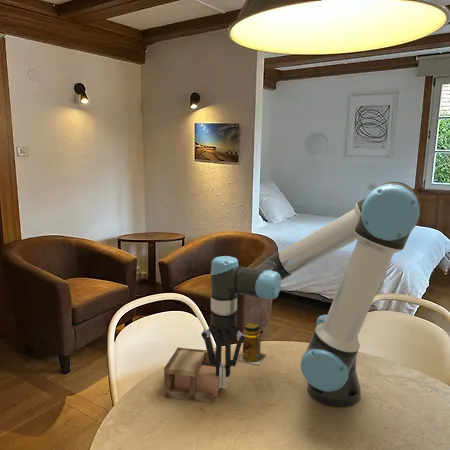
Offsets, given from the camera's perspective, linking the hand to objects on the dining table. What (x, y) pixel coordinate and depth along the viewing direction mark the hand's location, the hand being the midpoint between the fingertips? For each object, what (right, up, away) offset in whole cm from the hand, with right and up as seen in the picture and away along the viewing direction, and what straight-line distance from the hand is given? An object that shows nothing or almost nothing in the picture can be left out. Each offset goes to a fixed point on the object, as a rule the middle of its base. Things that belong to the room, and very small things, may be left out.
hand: (223, 385), depth 124 cm
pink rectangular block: (-8, -1, +2) cm, 8 cm away
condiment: (+10, +2, +20) cm, 23 cm away
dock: (-9, -1, +2) cm, 9 cm away
